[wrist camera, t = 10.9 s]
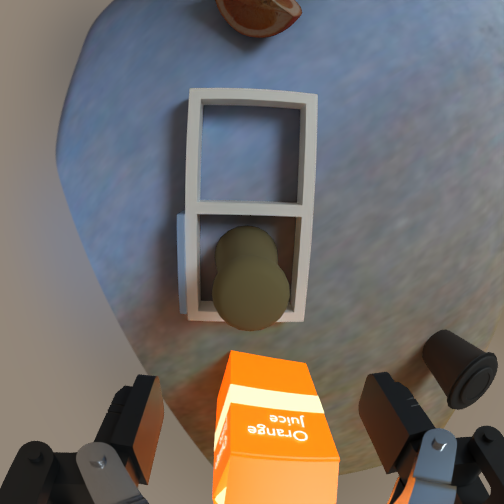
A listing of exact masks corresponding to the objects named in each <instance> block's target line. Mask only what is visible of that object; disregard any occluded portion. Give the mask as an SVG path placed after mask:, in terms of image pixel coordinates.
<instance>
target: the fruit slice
mask: <svg viewBox="0 0 504 504" xmlns="http://www.w3.org/2000/svg"><path fill="white" fill-rule="evenodd" d="M215 1H216V4H217V7H218V9H219V11H220V13H221V15H222V16H223V18H224V19H225V20H226V21H227V23H228V24H229V25H230V26H231V27H233V28H234V29H235V30H236V31H238V32H239V33H241V34H243V35H246V36H250V37H257V38H265V37H270V36H274V35H277V34H279V33H281V32H283V31H284V30H286V29H287V28H289V27H290V26H291V25H292V24H293V23H294V22H295V21H296V20H297V19H298V18H299V17H300V16H301V14H302V9H301V7H300V6H299V4H298V3H297V2H296V1H295V0H215Z"/></svg>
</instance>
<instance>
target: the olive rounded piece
mask: <svg viewBox="0 0 504 504" xmlns="http://www.w3.org/2000/svg"><path fill="white" fill-rule="evenodd" d="M215 261H216V267H217V271H218V274H217V275H216V277H215V279H214V283H213V289H212V298H213V304H214V307H215V308H216V310H217V312H218V314H219V316H220V317H221V318H222V319H223V320H224V321H225V322H226V323H227V324H228V325H230V326H232V327H235V328H237V329H239V330H245V331H255V330H262V329H264V328H267V327H269V326H271V325H273V324H274V323H275V322H276V321H278V320H279V319H280V318H281V317H282V315H283V314H284V312H285V310H286V309H287V305H288V301H289V297H290V290H289V283H288V281H287V278H286V276H285V274H284V272H283V270H282V269H281V268H280V267H279V266H278V256H277V248H276V245H275V243H274V241H273V239H272V238H271V237H270V236H269V235H268V234H267V232H265V231H263V230H261V229H260V228H258V227H253V226H248V225H247V226H239V227H236V228H234V229H231V230H229V231H228V232H227V233H226V234H224V235H223V236H222V237H221V239H220V241H219V242H218V244H217V246H216V251H215Z"/></svg>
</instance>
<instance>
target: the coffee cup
mask: <svg viewBox="0 0 504 504" xmlns="http://www.w3.org/2000/svg"><path fill="white" fill-rule="evenodd" d="M422 357H423V360H424V362H425V363H426V365H427V366H428V368H429V369H430V371H431V372H432V374H433V376H434V377H435V379H436V380H437V382H438V383H439V385H440V387H441V388H442V390H443V391H444V393H445V395H446V396H447V403H448V406H449V407H450V408H452V409H457V410H458V409H463V408H466V407H468V406H470V405H471V404H473V403H474V402H476V401H477V400H478V399H479V398H480V397H481V396H482V395H483V394H484V393H485V392H486V390H487V389H488V388H489V386H490V385H491V383H492V381H493V380H494V377H495V375H496V372H497V368H498V363H497V358H496V356H495V355H494V353H490V352H488V353H485V352H484V351H482V350H480V349H479V348H477V347H475V346H474V345H472V344H470V343H469V342H467V341H465V340H464V339H462V338H460V337H459V336H457V335H455V334H454V333H452V332H450V331H448V330H441V331H439V332H437V333H435V334H434V335H433V336H431V338H430V339H429V340H428V341H427V343H426V345H425V346H424V349H423V355H422Z"/></svg>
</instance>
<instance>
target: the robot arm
mask: <svg viewBox="0 0 504 504" xmlns="http://www.w3.org/2000/svg"><path fill="white" fill-rule="evenodd" d="M418 404H419V403H418V402H417V401H416V399H414V396H413V395H412V394H411V392H410V391H409V389H408V388H406V387H405V386H403V385H402V384H401V383H399V382H396V383H395V382H394V380H393V379H392V377H391V376H390V374H389V373H388V372H381V373H374V374H369V375H368V376H367V379H366V382H365V385H364V388H363V392H362V395H361V398H360V401H359V414H360V417H361V419H362V421H363V424H364V426H365V428H366V430H367V432H368V434H369V436H370V439H371V441H372V443H373V445H374V447H375V449H376V452H377V454H378V456H379V458H380V460H381V463H382V465H383V467H384V469H385V471H386V474H390V473H394V472H398V474H399V477H398V478H397V480H396V483H395V485H394V488H393V491H392V493H391V496H390V498H389V501H388V503H387V504H504V437H503V435H502V434H501V433H500V432H499V431H498V430H497V429H496V428H494V427H491V426H482V427H479V428H478V429H477V430H476V432H475V433H474V434H473V436H472V437H460V438H455V436H454V435H453V434H452V433H451V432H449V431H447V430H445V429H440V428H435V427H434V425H433V424H432V422H431V421H430V419H429V418H428V416H427V415H426V413H425V412H424V411H423V409H422V408H421V406H420V405H418ZM163 418H164V405H163V399H162V393H161V388H160V382H159V378H158V376H149V375H138V376H137V377H136V380H135V382H134V384H133V387H130V386H124V387H123V388H122V389H120V390H119V391H118V392H117V393H116V394H115V397H114V398H113V401H112V404H111V405H110V407H109V409H108V413H106V416H105V418H104V420H103V422H102V425H101V427H100V429H99V431H98V434H97V436H96V438H95V440H94V442H92V443H88V444H86V445H85V446H83V447H82V448H80V450H79V451H78V452H76V453H58V452H56V453H54V452H53V451H52V449H51V448H50V447H49V446H48V445H47V444H45V443H43V442H40V441H31V442H28V443H26V444H24V445H23V446H22V447H21V448H20V449H19V451H18V453H17V455H16V457H15V459H14V461H13V463H12V465H11V467H10V469H9V471H8V473H7V475H6V477H5V480H4V481H3V484H2V486H1V488H0V504H149V503H148V501H147V500H146V499H145V498H144V497H143V496H142V495H141V493H140V491H139V490H138V484H144V485H148V482H149V478H150V473H151V469H152V464H153V460H154V456H155V452H156V447H157V443H158V439H159V435H160V431H161V427H162V423H163ZM481 472H482V473H483V474H484V476H485V478H486V480H487V481H488V483H489V485H490V487H491V494H490V496H489V494H488V492H487V490H486V489H485V487H484V485H483V483H482V481H481V480H480V478H479V476H478V475H479V474H480V473H481Z"/></svg>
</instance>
